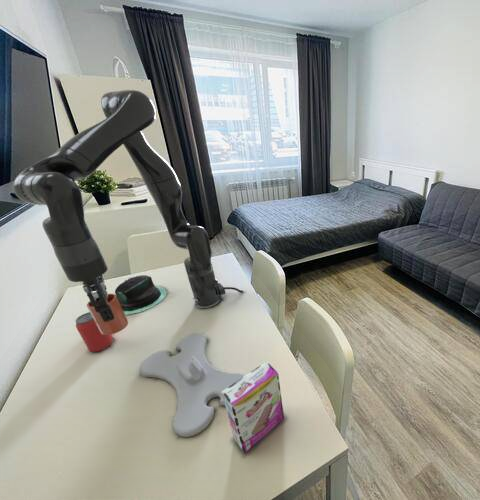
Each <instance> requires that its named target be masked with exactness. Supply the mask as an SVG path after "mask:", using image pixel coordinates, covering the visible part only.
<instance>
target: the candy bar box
mask: <svg viewBox="0 0 480 500" xmlns="http://www.w3.org/2000/svg"><path fill="white" fill-rule="evenodd" d="M222 396H223V399H224V403H225V406H224V407H225V410H226V414H227V417H228V421H229V425H230V429H231V432H232V435H233V439H234V441H235V442H236V443H237V445H238V447H239V448H240V450H241V451H242V452H243V454H246V453H247V452H248V451H249V450H251V449H252V448H253V447H254V446H255V445H256V444H257V443H259V442H260V441H261V440H262V439H263V438H264V437H265V436H267V434H269V433H270V432H271V431H272V430H273V429H274V428H275V427H276V426H278V424H280V423H281V422H282V421H283V420H284V419H285V414H284V408H283V407H284V406H283V399H282V392H281V385H280V375H279V372H278V371H277V370H276V369H275V368H274V367H273V366H272V365H271V364H270V362H268V361H264V362H263V363H261V364H260V365H259V366H257V367H256V368H254V369H253V370H251V371H249V372H248V373H247V374H245V375H244V377H242V378H241V379H239V380H238V381H237V382H235V383H234V384H232V385H231V386H229V387H228V388H226V389H225V390H223V391H222Z"/></svg>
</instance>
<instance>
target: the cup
mask: <svg viewBox="0 0 480 500" xmlns="http://www.w3.org/2000/svg"><path fill="white" fill-rule="evenodd" d="M107 294H108V298H107V301H108V303H109V304H110V308H111V311H112V313H113V315H114V319H113V320H110V321H107V322H104V321H103V319H102V317H101V315H100V313H99V312H96V311H95V308H94V306H93V304H92V303H91V302H90V300H89V301H88V302H87V303H86V307H87V309H88V311H89V312H90V313H91V315H92V317H93V319H94V321H95V323H96V325H97V326H98V328H99V330H100V332H101V333H102V334H103V335H111V336H112V335H114V334H118V333H119V332H122V331H123V330H125V328H127V326H128V325H129V321H128V318H127V315H125V314H124V312H123V309H122V307H121V305H120V303H119V301H118V298H117V296H116V294H115V293H107ZM103 304H104V303H100V304H98V306H100V305H103Z"/></svg>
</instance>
